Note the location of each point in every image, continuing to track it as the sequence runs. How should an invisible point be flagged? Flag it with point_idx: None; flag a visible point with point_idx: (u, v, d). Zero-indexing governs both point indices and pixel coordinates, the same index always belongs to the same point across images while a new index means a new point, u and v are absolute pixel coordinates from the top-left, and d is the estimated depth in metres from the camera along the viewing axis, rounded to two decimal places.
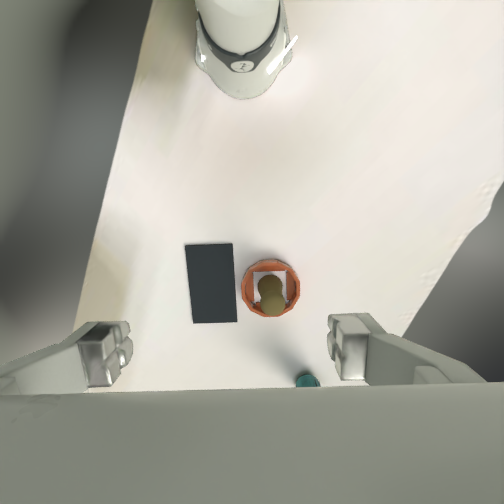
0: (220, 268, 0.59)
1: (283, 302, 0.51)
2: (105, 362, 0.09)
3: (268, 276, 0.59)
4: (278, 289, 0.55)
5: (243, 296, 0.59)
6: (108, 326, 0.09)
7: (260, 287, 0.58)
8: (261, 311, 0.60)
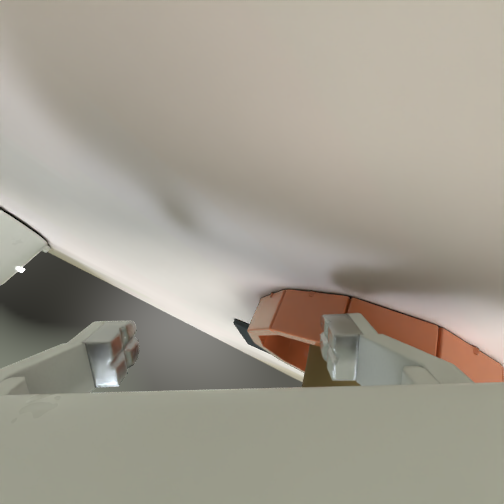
0: None
1: None
2: (112, 362, 0.09)
3: None
4: None
5: None
6: (115, 326, 0.09)
7: None
8: None
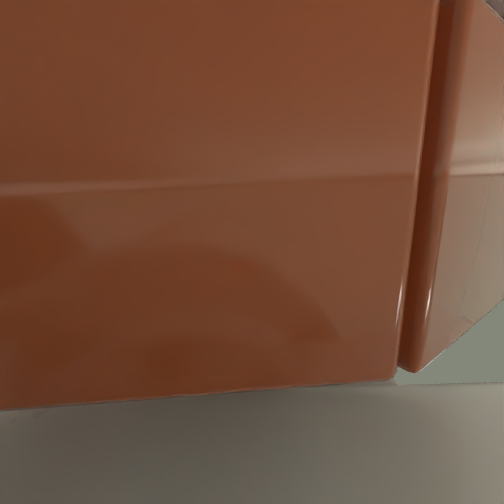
0: None
1: None
2: None
3: None
4: None
5: None
6: None
7: None
8: None
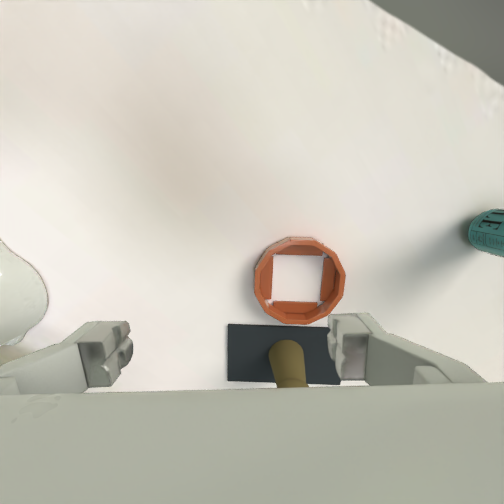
0: (261, 343, 0.43)
1: None
2: (105, 362, 0.09)
3: (269, 359, 0.43)
4: (280, 371, 0.37)
5: (304, 322, 0.40)
6: (108, 326, 0.09)
7: None
8: (333, 297, 0.39)
